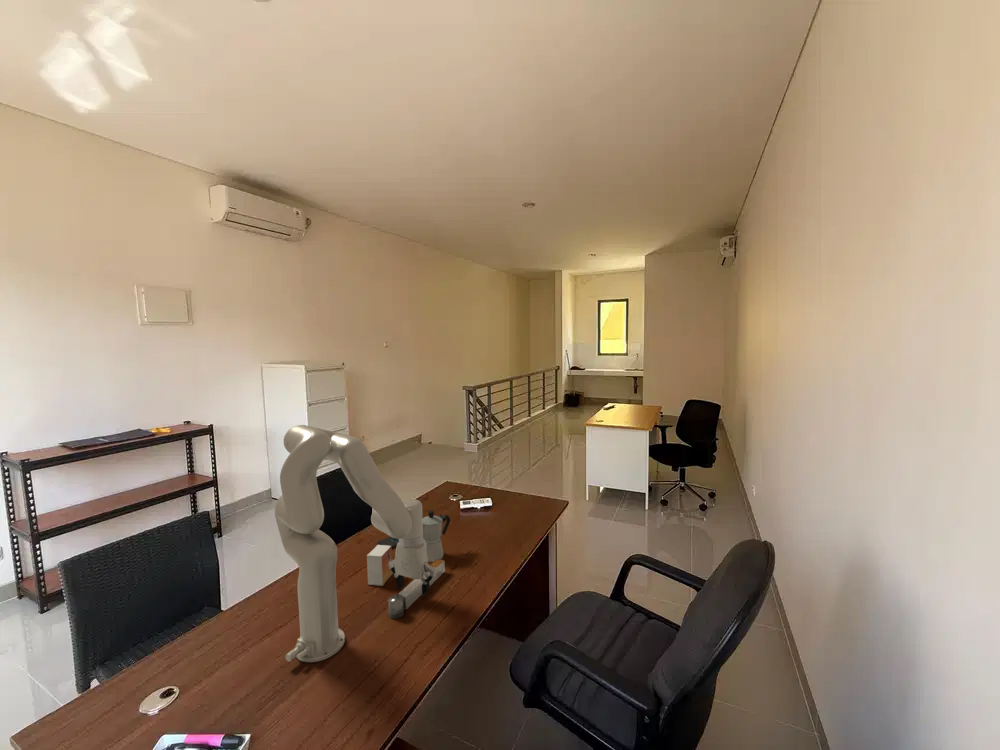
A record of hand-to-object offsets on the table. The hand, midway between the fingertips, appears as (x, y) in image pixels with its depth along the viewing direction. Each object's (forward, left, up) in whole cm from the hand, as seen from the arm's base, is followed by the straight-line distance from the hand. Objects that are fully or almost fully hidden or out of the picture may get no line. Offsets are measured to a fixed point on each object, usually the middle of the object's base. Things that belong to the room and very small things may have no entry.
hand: (412, 590), depth 139 cm
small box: (+5, +17, -3) cm, 18 cm away
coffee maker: (+26, +8, -3) cm, 27 cm away
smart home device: (+34, +28, -3) cm, 44 cm away
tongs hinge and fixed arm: (+3, 0, -2) cm, 4 cm away
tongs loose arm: (+5, -1, -2) cm, 6 cm away
